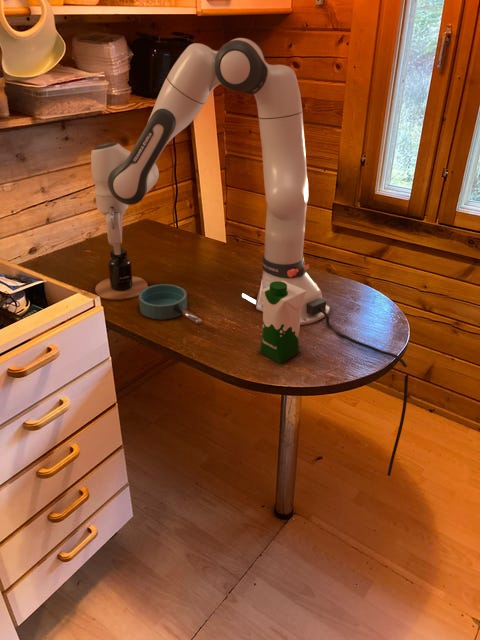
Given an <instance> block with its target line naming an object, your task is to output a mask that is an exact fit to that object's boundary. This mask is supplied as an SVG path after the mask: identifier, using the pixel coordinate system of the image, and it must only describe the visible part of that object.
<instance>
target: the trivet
mask: <svg viewBox="0 0 480 640" xmlns="http://www.w3.org/2000/svg"><path fill="white" fill-rule="evenodd" d="M132 282H133V285H132V287H131V288H130V289H128V290H125V291H116V290H113V289H112V288H111V286H110V278H109V277H107V278H105V279H103V280H101V281H100V282H98V283H97V284H96V286H95V288H94V291H95V294H96V295H97V296H98V295H99V296H98V297H99V298H101V299H104V300H109V301H125V300H131V299H135V298H139V293H140V292H141V291H142V290H143V289H145V288H147V287H149V286H148V282H147V281H146V279H144V278H142V277H139V276H135V275H132Z"/></svg>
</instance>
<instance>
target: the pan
mask: <svg viewBox="0 0 480 640" xmlns="http://www.w3.org/2000/svg"><path fill="white" fill-rule="evenodd" d="M177 304H178V305H180V306H181V307H183V308H184V309H186V310H188V294H187V291H186V289H184V288H183V287H181V286H179V285H176V284H169V283H160V284H154V285H150V286H148V287H147V288H145V289H143V290H142V291H141V292H140V293H139V296H138V306H139V311H140V313H141V315H143V316H144V317H146V318H148V319H153V320H157V321H158V320H160V321H162V320H163V321H164V320H170V319H175V318H178V317H180V316H181V315H180V314H179V313H177V312H176V311H174V306H175V305H177Z"/></svg>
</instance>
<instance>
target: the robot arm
mask: <svg viewBox="0 0 480 640" xmlns="http://www.w3.org/2000/svg"><path fill="white" fill-rule="evenodd" d="M219 85H221V86H223V87H224V88H226V89H227V90H229V91H232V92H235V93H241V94H246V95H247V94H248V95H253V96H254V98H255V103H256V109H257V117H258V125H259V135H260V143H261V144H260V145H261V154H262V155H261V156H262V169H263V183H264V194H265V195H264V196H265V202H266V216H265V228H264V229H265V231H264V248H263V249H264V252H263V255H262V260H261V268H262V275H261V281H260V285H259V291H258V294H257V296H256V299H254V298H252V297H250V296H249V295H247V294H245V293H242V294H241V297H242V298H243V299H246V300H247V301H248V302H250V303H252V304H254V305H255V306H256V307H255V309H256V310H258V311H260V312H262V313H263V299H262V293H261V290H262V289H264V288H266V287H269V286H270V284H271V283H272V282H275V281H280V282H281V281H285V282H287V283H290V284H292V285H294V286H296V287H299V288H301V289H303V290H306V293H305V297H304V300H303V304H302V307H301V317H300V326H304V325H308V324H313V323H316V322H318V321H320V320H322V319H323V318H325V324H326V325H327V327H328V328H329V329H331V330H332V331H333V332H334V333H335V334H336V335H337V336H339V337H341V338H344V339H345V340H347V341H349V342H351V343H353V344H356V345H359V346H361V347H364V348H366V349H368V350H372V351H374V352H376V353H379V354H382V355H384V356H387V357H388V356H389V357H391V358H395V359H396V360H398V362H400V363H401V365H402V367H404V368H408V365H407V363H406V362H405V361H404V359H402V357H400V356H399V355H397V354H395V353H393V352H389V351H385V350H382V349H380V348H377V347H374V346H372V345H370V344H367V343H364V342H362V341H358V340H356V339H354V338H352V337H350V336H348V335H347V334H344V333H341V332H340V331H338V330H336V329H335V328H334V327H333V326H332V325H331V323H330V317H329V315H328V314H329V313H330V307H329V305H327V301H326V300H325V299H323V293H322V290H321V289H320V288H319V286H318V284H317V282H315V281H314V279H312V278H311V276H310V274H309V273H308V272H307V269H309V268H310V263H308V264H306V261H305V258H304V246H305V234H306V233H305V232H306V219H307V218H306V217H307V204H308V202H309V180H308V171H307V157H306V156H307V155H306V140H305V128H304V127H305V126H304V114H303V104H302V97H301V92H300V91H301V90H300V86H299V82H298V78H297V75H296V72H295V70H294V69H293V68H291V67H290V66H288V65H285V64H269V63H268V62H267V61H266V56H265V53H264V50H263V49H262V47H261V46H260V45H259V44H258V43H257V42H256V41H254V40H252V39H249V38H245V37H237V38H234V39H231V40H229V41H228V42H226V43H223V45H221V47H220V48H219V49H218V50H214V49H212V48H211V47H209V46H208V45H205V44H204V43H198V42H197V43H196V42H194V43H191V44H189V45H188V46H187V47H186V48H185V49H184V51H183V52H182V53H181V54H180V55H179V57H178V58H177V60H176V61H175V63H174V64H173V66H172V67H171V69H170V70H169V72H168V74H167V77H166V78H165V80H164V82H163V84H162V87H160V88H161V89H160V91H159V93H158V95H157V98H156V101H155V103H154V105H153V108H152V110H151V113H150V115H149V118H148V121H147V123H146V125H145V127H144V128H143V131H142V133H141V134H140V136H139V138H138V139H137V141H136V143H135V145H134V146H133V148H132V149H131V151H130V150H128V149H127V148H125V147H123V146H122V145H121V144H120V143H118V142H115V141H113V142H105V143H101V144H99V145H97V146H95V147H94V148H92V150H91V151H90V152H91V153H90V168H91V177H92V180H93V182H94V196H95V204H96V210H97V211H98V212H100V213H102V216H103V217H105V225H106V233H107V234H106V235H107V241H108V244H109V245H110V246H112V249H114V253H115V255H120V254H121V248H122V247H121V245H122V244H123V223H124V222H123V221H124V215H125V214H126V210H128V209H129V206H133V205H136V204H139V203H140V202H141V201H142V200H143V199H144V198H145V196H146V195H147V193H149V192H150V190H152V189H153V187H155V185H156V184H157V183H158V181H159V178H160V171H159V167H158V165H157V163H156V162H157V160H158V159H159V157H160V156H161V154H162V152H163V150H164V149H165V148H166V146H167V145H168V144H169V143H170V141H171V140H173V139H174V137H176V136H177V135H178V134H180V133H181V132H182V131H183V130H185V129H186V128H187V127H188V126H190V124H192V122H193V121H194V120H195V119H196V118H197V116H198V115H199V114H200V112H201V111H202V110H203V108H204V106H205V104H206V103H207V101H208V99H209V98H210V95H211V94H212V93H213V91H214V89H215V88H216V87H218V86H219ZM403 384H404V385H403V387H404V388H403V402H402V410H401V415H400V421H399V425H398V429H397V434H396V438H395V442H394V445H393V449H392V453H391V456H390V461H389V465H388V469H387V476H388V477H391V474H392V470H393V465H394V460H395V457H396V452H397V449H398V446H399V443H400V438H401V434H402V430H403V426H404V421H405V416H406V411H407V402H408V392H409V391H408V386H409V373H408V374H406V375H405V376H404V383H403Z"/></svg>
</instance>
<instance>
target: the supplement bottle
mask: <svg viewBox="0 0 480 640" xmlns="http://www.w3.org/2000/svg"><path fill="white" fill-rule="evenodd" d="M120 248H121V254H120V255H115V253H114V248H112V249H110V250H109V253H110V255H109V256H110V258H109V259H108V261H107V267H108V278H110V286H111V288H112V289H113V290H116V291H125V290H128V289H130V288H131V287H132V285H133V282H132V276H133V271H132V260H131V259H130V258H129V257H128V253H127V249H126V248H123V247H120Z"/></svg>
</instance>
